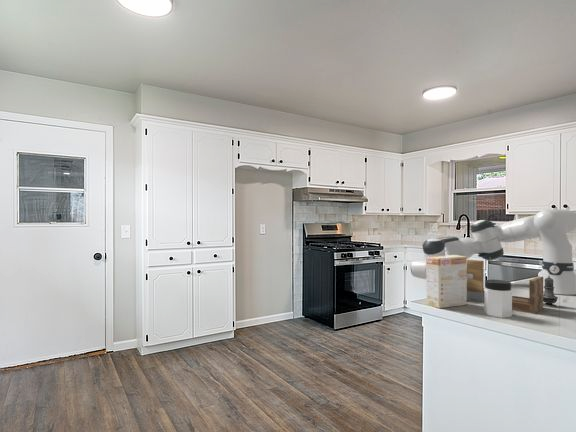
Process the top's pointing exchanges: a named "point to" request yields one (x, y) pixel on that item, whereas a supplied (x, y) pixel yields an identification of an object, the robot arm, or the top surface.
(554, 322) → the top surface
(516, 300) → the offcut boards
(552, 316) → the top surface
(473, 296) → the slate holder
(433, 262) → the coffeecake box
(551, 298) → the salt shaker
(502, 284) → the jar
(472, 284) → the wooden block
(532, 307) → the walnut rack
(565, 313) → the top surface
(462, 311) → the top surface
